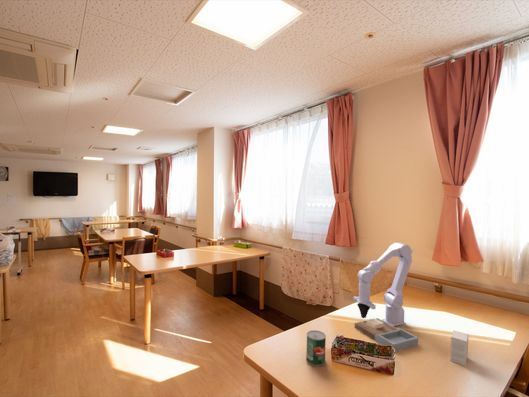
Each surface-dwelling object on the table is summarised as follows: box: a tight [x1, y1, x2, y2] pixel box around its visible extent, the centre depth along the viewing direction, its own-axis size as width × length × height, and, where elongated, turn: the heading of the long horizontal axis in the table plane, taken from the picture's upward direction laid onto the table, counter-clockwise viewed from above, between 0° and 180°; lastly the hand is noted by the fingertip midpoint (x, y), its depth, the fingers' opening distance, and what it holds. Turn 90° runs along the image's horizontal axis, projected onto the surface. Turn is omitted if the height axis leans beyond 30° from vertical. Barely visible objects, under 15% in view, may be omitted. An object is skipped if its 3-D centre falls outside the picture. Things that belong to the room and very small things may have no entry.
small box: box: [450, 330, 469, 367], centre depth 123 cm, size 8×6×10 cm
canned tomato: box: [305, 330, 327, 367], centre depth 120 cm, size 8×8×11 cm
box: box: [374, 328, 419, 353], centre depth 136 cm, size 16×11×4 cm
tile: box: [365, 317, 384, 329], centre depth 149 cm, size 6×6×2 cm
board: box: [354, 318, 400, 341], centre depth 148 cm, size 16×14×2 cm
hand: (363, 317), depth 156 cm, fingers closed
